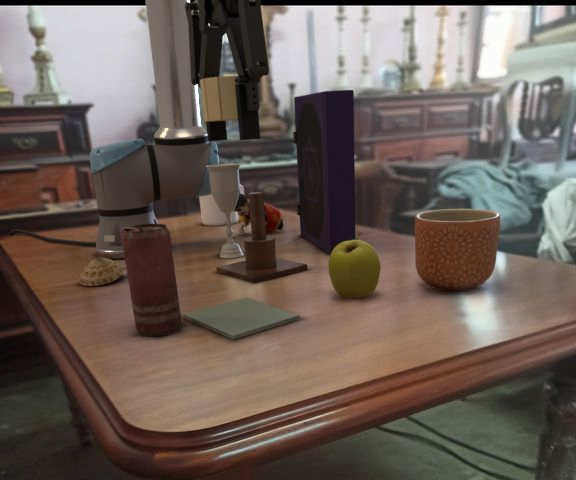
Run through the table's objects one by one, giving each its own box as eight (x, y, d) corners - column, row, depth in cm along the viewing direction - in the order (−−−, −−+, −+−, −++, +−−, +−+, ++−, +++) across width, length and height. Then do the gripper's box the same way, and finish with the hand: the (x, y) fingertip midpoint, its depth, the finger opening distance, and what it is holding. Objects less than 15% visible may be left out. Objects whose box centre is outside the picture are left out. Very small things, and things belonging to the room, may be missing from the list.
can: (138, 324, 83) (122, 224, 78) (183, 320, 83) (170, 221, 78) (131, 339, 77) (113, 232, 72) (179, 335, 78) (165, 228, 72)
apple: (356, 277, 96) (366, 220, 90) (384, 302, 90) (396, 243, 84) (314, 285, 93) (321, 227, 87) (340, 312, 87) (349, 252, 81)
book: (357, 252, 118) (355, 89, 107) (327, 255, 117) (322, 91, 106) (323, 233, 140) (319, 95, 129) (298, 235, 138) (291, 97, 127)
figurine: (256, 246, 149) (208, 225, 139) (267, 210, 149) (220, 186, 139) (280, 247, 142) (231, 225, 132) (291, 209, 142) (243, 184, 132)
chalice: (242, 259, 118) (234, 165, 111) (210, 259, 119) (200, 167, 113) (251, 251, 125) (244, 162, 118) (221, 251, 126) (212, 164, 119)
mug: (207, 227, 157) (203, 187, 153) (198, 222, 165) (194, 184, 162) (251, 221, 161) (248, 183, 157) (240, 217, 170) (237, 180, 166)
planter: (450, 301, 85) (454, 225, 81) (397, 283, 95) (398, 215, 91) (513, 286, 90) (519, 214, 86) (456, 271, 100) (459, 206, 96)
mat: (183, 318, 84) (182, 314, 84) (245, 300, 91) (245, 297, 90) (233, 339, 75) (233, 335, 75) (299, 319, 81) (299, 315, 81)
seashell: (135, 262, 110) (110, 254, 103) (133, 292, 110) (107, 286, 103) (98, 261, 113) (71, 253, 105) (96, 290, 113) (68, 285, 105)
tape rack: (216, 272, 109) (208, 195, 104) (268, 260, 116) (263, 187, 111) (254, 283, 100) (247, 199, 95) (307, 269, 107) (304, 190, 102)
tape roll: (194, 122, 78) (189, 81, 76) (239, 120, 82) (235, 80, 80) (223, 120, 73) (219, 75, 71) (269, 117, 77) (266, 75, 75)
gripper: (149, -47, 75) (172, 143, 83) (236, -96, 61) (254, 140, 69) (199, -40, 79) (216, 139, 88) (292, -85, 65) (303, 136, 73)
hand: (233, 139), depth 78 cm, fingers closed on tape roll, 7 cm apart
